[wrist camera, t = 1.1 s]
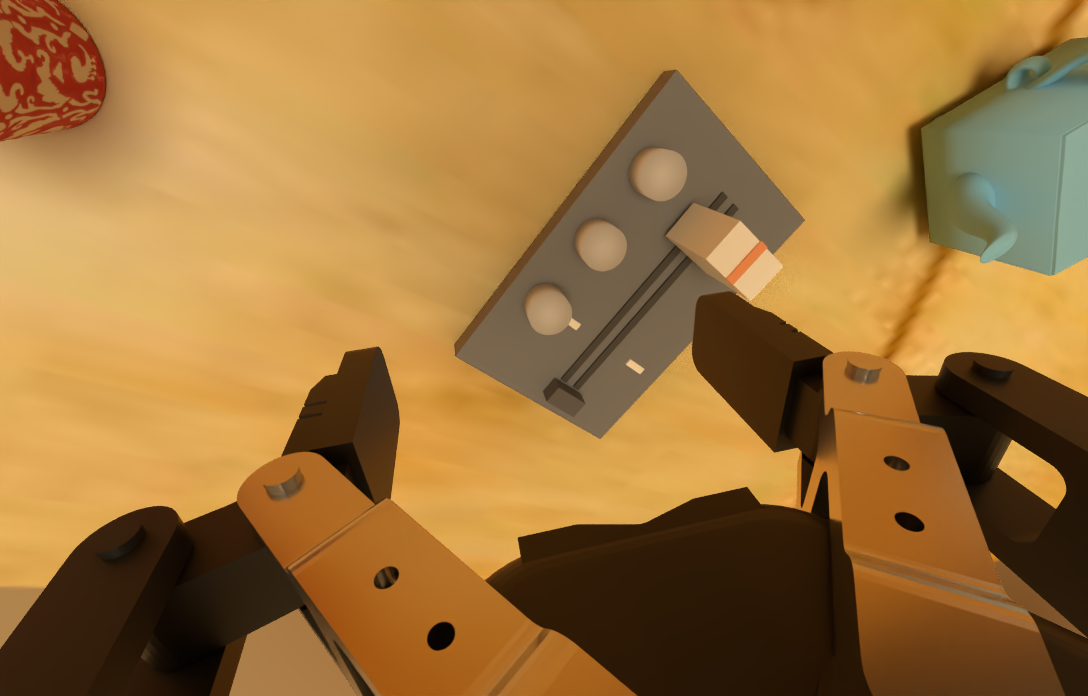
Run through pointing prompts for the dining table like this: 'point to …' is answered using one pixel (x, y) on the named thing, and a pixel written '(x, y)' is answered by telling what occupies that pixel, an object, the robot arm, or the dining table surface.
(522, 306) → the console
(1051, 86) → the teapot
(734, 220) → the block
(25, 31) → the mug
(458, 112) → the dining table surface
